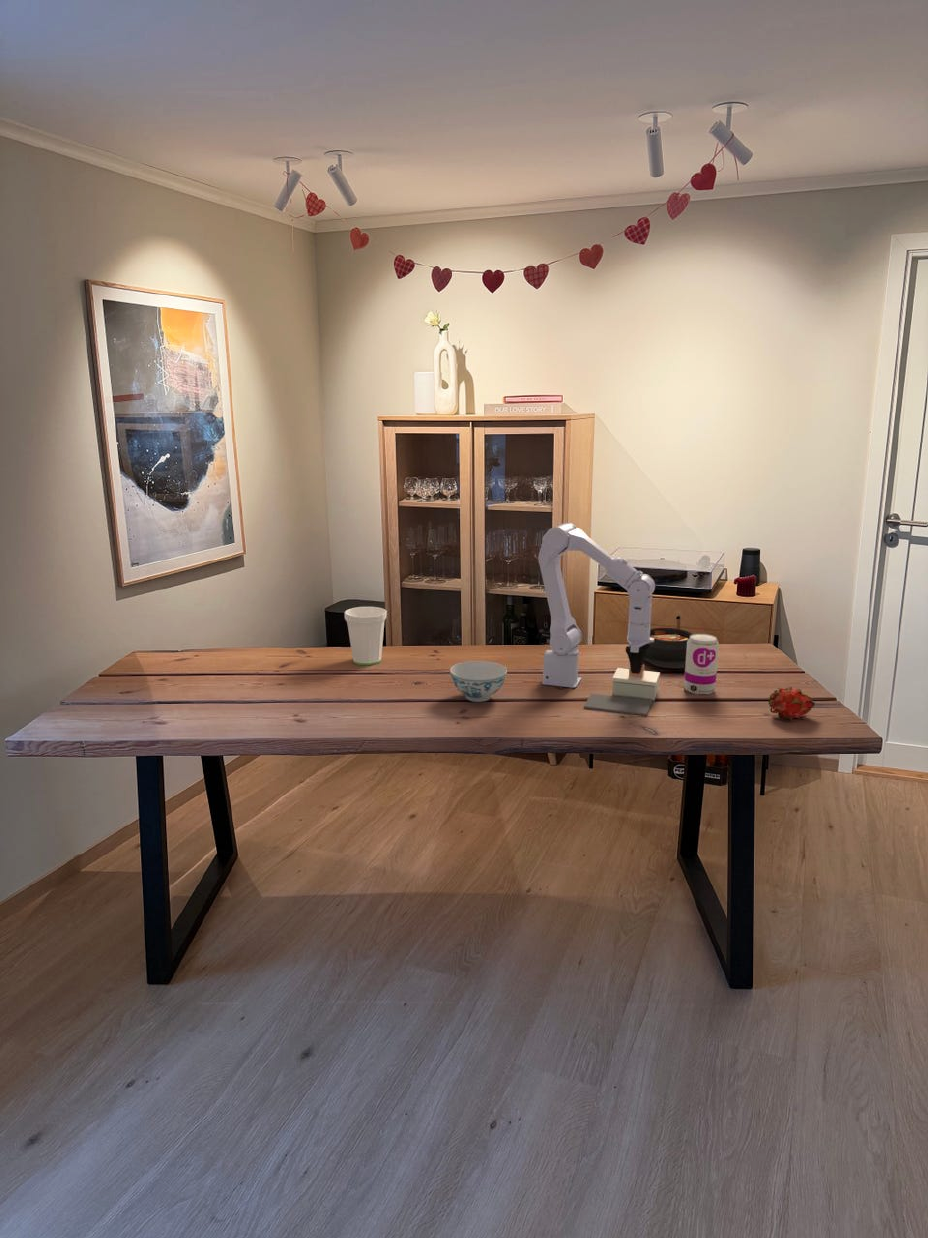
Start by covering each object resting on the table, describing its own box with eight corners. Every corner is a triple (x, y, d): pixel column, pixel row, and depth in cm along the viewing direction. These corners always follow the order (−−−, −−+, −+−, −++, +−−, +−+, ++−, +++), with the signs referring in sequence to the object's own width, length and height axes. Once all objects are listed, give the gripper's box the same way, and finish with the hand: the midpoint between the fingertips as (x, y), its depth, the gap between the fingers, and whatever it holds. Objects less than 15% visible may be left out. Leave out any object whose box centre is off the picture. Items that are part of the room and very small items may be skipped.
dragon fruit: (761, 721, 217) (807, 727, 217) (776, 713, 209) (824, 719, 209) (760, 689, 220) (806, 695, 220) (775, 680, 212) (822, 686, 213)
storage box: (612, 696, 229) (613, 682, 228) (617, 686, 237) (618, 672, 236) (654, 701, 226) (655, 686, 225) (658, 691, 233) (658, 677, 232)
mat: (583, 708, 221) (583, 706, 221) (591, 695, 230) (591, 693, 230) (646, 715, 216) (646, 714, 216) (651, 702, 225) (652, 700, 225)
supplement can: (716, 696, 229) (720, 642, 225) (684, 694, 231) (688, 641, 227) (713, 686, 237) (718, 634, 233) (683, 684, 239) (686, 632, 235)
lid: (612, 683, 228) (612, 668, 227) (617, 674, 236) (618, 659, 235) (655, 689, 225) (656, 673, 224) (659, 678, 232) (660, 663, 231)
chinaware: (480, 712, 218) (481, 683, 216) (438, 697, 228) (438, 670, 226) (518, 696, 229) (518, 669, 227) (476, 683, 239) (476, 657, 237)
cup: (352, 653, 265) (350, 605, 261) (392, 655, 263) (390, 607, 259) (341, 666, 253) (339, 616, 249) (382, 668, 251) (381, 618, 247)
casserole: (630, 648, 271) (631, 622, 269) (689, 648, 271) (691, 623, 268) (643, 674, 247) (645, 646, 245) (708, 674, 247) (711, 646, 244)
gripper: (651, 630, 218) (648, 681, 222) (658, 616, 231) (655, 664, 235) (623, 627, 220) (620, 677, 224) (632, 613, 233) (629, 661, 237)
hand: (636, 670), depth 229 cm, fingers closed on lid, 3 cm apart
